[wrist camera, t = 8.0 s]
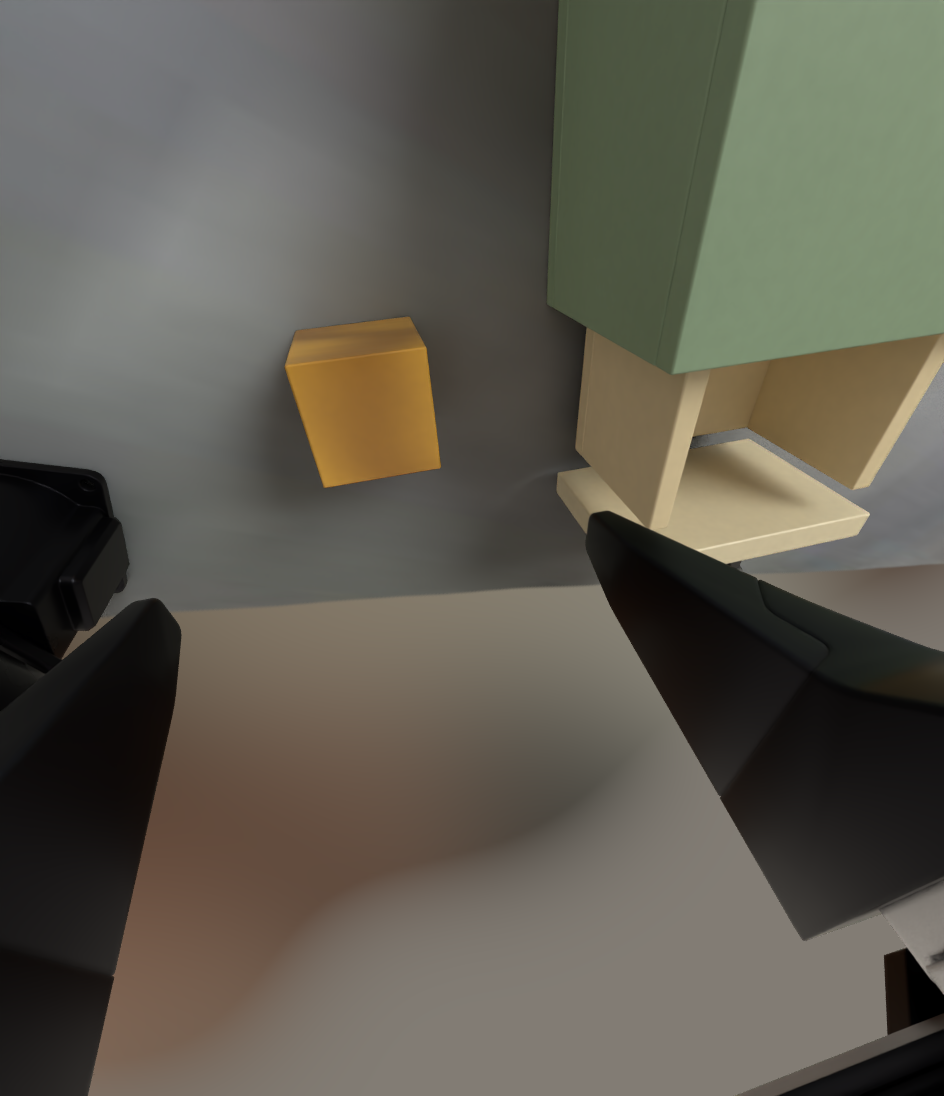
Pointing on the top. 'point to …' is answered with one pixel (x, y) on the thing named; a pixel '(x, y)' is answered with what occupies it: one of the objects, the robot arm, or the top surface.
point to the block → (365, 400)
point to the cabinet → (748, 176)
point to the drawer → (741, 442)
